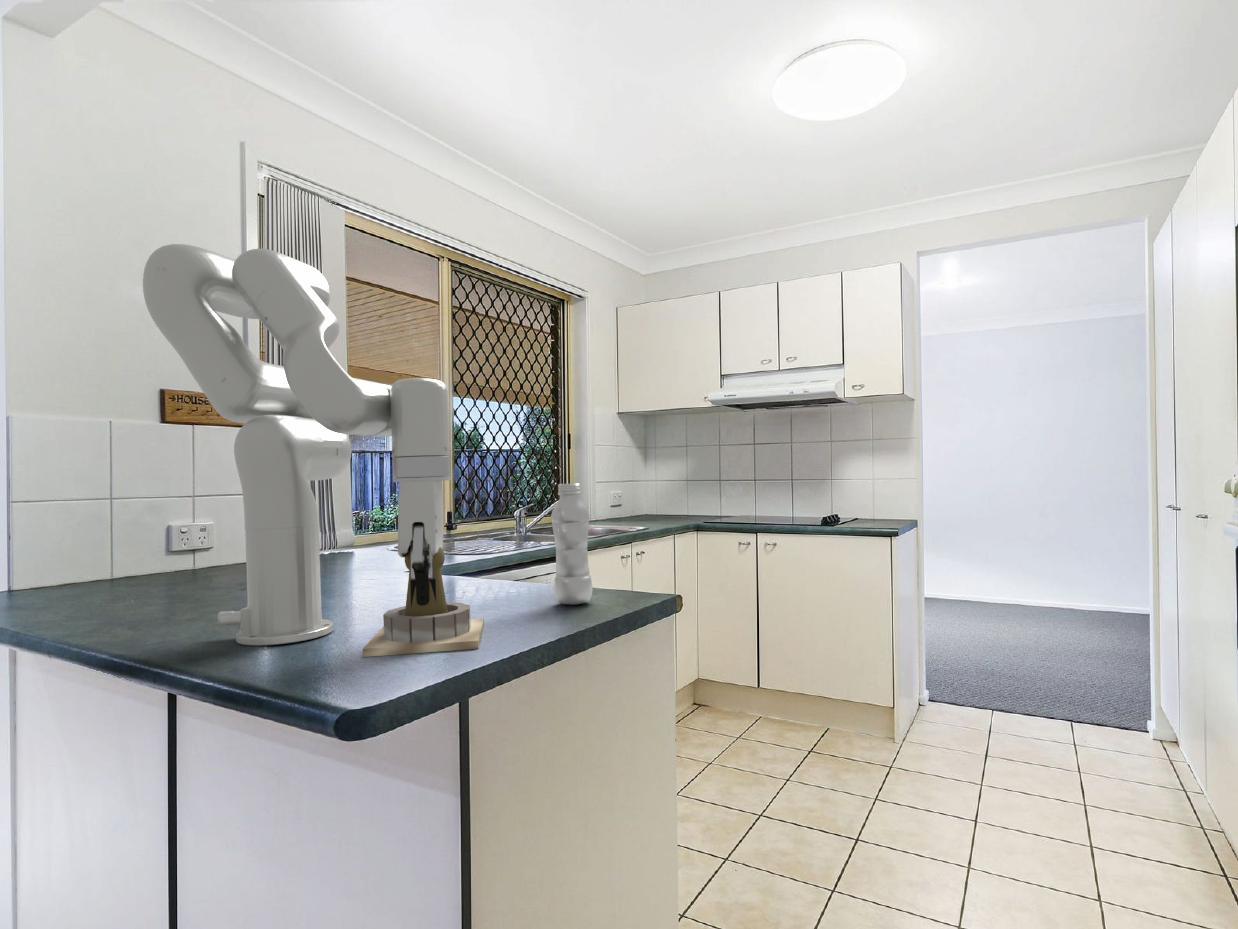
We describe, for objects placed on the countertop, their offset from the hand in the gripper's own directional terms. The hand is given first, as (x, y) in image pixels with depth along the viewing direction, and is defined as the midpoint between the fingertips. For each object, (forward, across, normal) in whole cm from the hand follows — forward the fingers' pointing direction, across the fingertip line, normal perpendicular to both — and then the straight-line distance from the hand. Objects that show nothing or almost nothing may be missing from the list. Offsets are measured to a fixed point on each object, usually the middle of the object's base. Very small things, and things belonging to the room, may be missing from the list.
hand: (426, 605), depth 94 cm
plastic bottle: (+5, -19, +21) cm, 29 cm away
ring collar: (+5, 0, 0) cm, 5 cm away
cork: (+3, 0, 0) cm, 3 cm away
